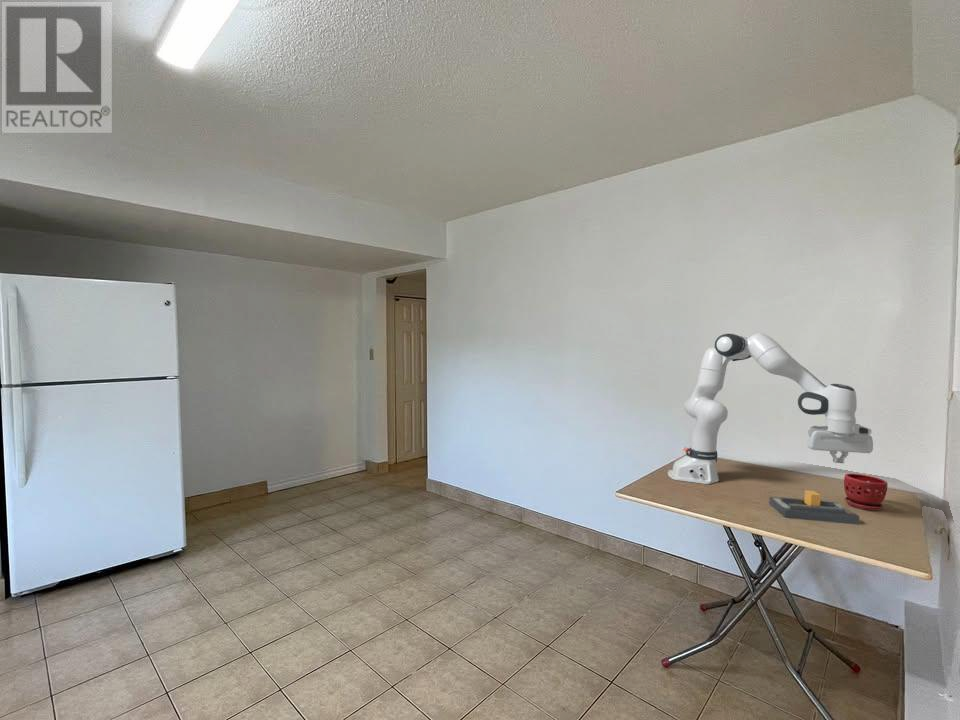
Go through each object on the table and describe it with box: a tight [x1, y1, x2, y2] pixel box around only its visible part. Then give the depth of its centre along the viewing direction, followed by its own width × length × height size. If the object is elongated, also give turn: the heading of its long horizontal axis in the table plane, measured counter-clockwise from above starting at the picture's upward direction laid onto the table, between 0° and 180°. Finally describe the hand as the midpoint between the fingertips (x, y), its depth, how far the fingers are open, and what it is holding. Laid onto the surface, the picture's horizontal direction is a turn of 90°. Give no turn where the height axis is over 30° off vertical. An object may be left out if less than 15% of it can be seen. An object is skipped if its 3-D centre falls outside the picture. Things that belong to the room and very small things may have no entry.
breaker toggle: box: [803, 489, 821, 506], centre depth 168 cm, size 3×5×5 cm, turn 167°
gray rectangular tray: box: [768, 496, 860, 525], centre depth 168 cm, size 24×14×4 cm, turn 77°
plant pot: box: [843, 473, 889, 511], centre depth 176 cm, size 13×13×12 cm
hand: (838, 462), depth 166 cm, fingers closed
